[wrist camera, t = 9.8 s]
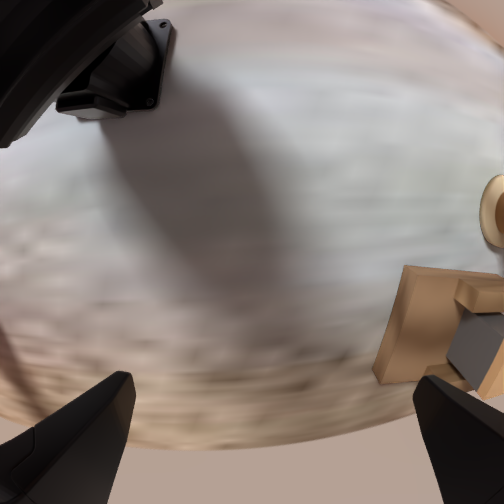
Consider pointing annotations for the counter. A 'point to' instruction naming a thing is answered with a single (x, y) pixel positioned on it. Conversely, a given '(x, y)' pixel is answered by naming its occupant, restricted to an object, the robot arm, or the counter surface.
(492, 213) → the door knob
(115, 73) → the robot arm
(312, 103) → the counter surface
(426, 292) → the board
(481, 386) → the block
